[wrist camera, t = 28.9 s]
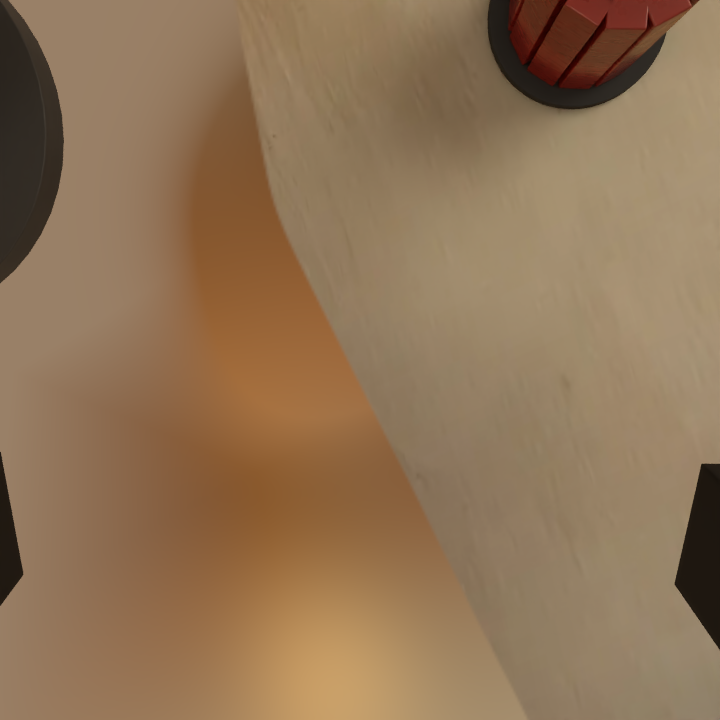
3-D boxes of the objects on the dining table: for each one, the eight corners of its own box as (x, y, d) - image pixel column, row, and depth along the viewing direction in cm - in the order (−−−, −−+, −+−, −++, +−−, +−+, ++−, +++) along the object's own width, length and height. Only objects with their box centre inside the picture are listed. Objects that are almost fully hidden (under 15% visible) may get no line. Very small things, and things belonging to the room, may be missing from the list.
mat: (482, 107, 34) (483, 104, 34) (493, -77, 33) (494, -82, 33) (657, 111, 34) (661, 108, 33) (674, -76, 33) (679, -81, 32)
